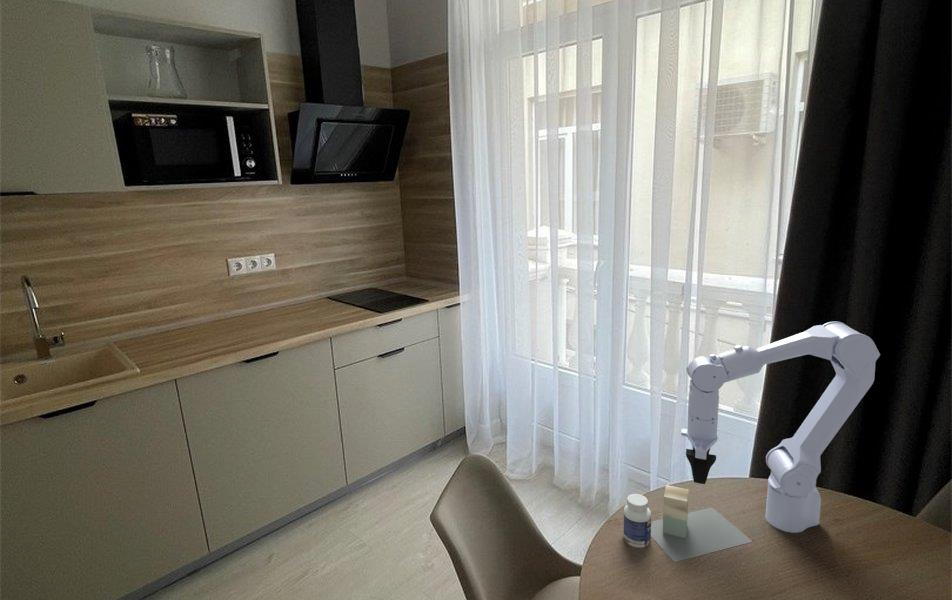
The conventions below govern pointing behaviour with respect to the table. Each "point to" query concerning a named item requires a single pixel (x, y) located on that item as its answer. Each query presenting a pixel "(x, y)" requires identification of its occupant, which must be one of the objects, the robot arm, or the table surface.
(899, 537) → the table surface
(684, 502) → the birch block
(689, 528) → the board
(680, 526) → the sage block
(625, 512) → the pill bottle
